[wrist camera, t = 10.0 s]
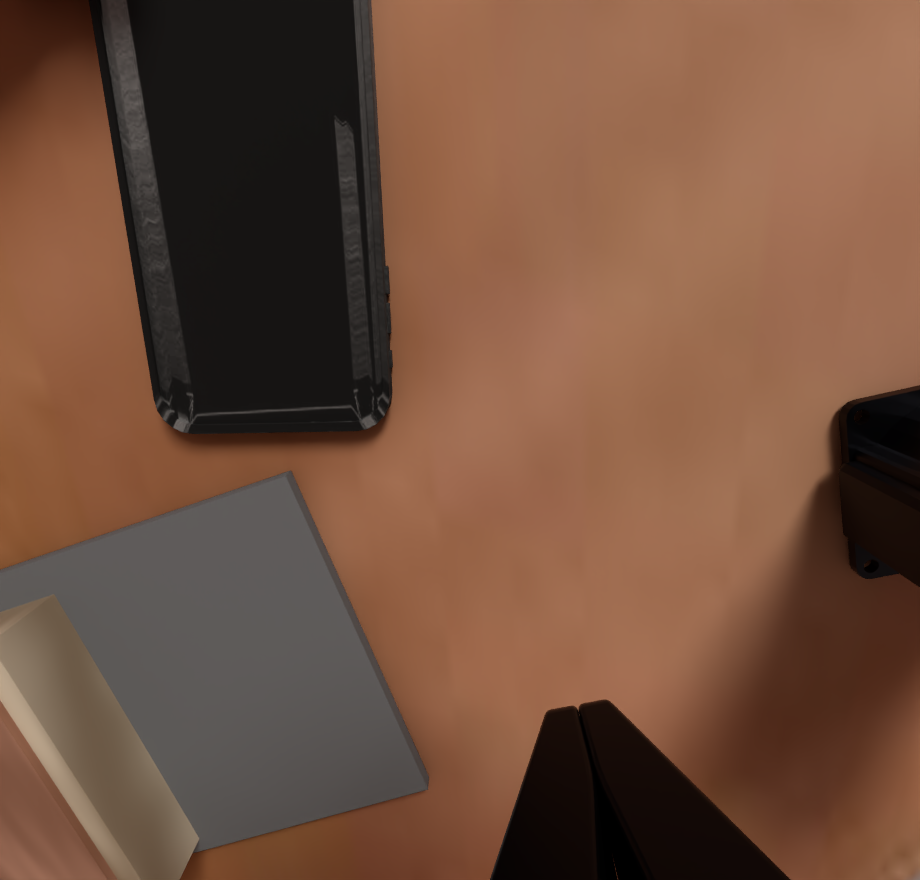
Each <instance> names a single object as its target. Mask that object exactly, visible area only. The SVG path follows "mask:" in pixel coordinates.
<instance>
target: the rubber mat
mask: <svg viewBox="0 0 920 880" xmlns="http://www.w3.org/2000/svg"><path fill="white" fill-rule="evenodd" d="M53 594H54V595H55V596H56V598H57V600H58V601H59V603H60V605H61V607H62V608H63V610H64V612H65V613H66V615H67V617H68V618H69V620H70V622H71V623H72V625H73V627H74V628H75V630H76V632H77V633H78V635H79V637H80V638H81V640H82V642H83V644H84V645H85V647H86V649H87V650H88V652H89V654H90V655H91V657H92V659H93V660H94V662H95V664H96V665H97V667H98V669H99V670H100V672H101V674H102V676H103V677H104V679H105V681H106V682H107V684H108V686H109V687H110V689H111V691H112V692H113V694H114V696H115V697H116V699H117V701H118V702H119V704H120V706H121V707H122V709H123V711H124V713H125V714H126V716H127V718H128V719H129V721H130V723H131V724H132V726H133V728H134V729H135V731H136V733H137V734H138V736H139V738H140V739H141V741H142V743H143V744H144V746H145V748H146V750H147V751H148V753H149V755H150V756H151V758H152V760H153V761H154V763H155V765H156V766H157V768H158V770H159V771H160V773H161V775H162V776H163V778H164V780H165V781H166V783H167V785H168V787H169V788H170V790H171V792H172V793H173V795H174V797H175V798H176V800H177V802H178V803H179V805H180V807H181V808H182V810H183V812H184V813H185V815H186V817H187V818H188V820H189V822H190V824H191V825H192V827H193V829H194V830H195V832H196V834H197V835H198V837H199V841H198V843H197V845H196V847H195V849H194V851H193V853H196V852H199V851H203V850H207V849H210V848H214V847H218V846H221V845H225V844H229V843H232V842H236V841H240V840H243V839H247V838H251V837H254V836H258V835H262V834H266V833H269V832H273V831H277V830H280V829H284V828H288V827H291V826H295V825H299V824H302V823H306V822H310V821H313V820H317V819H321V818H324V817H328V816H332V815H335V814H339V813H343V812H347V811H350V810H354V809H358V808H361V807H365V806H369V805H372V804H376V803H380V802H383V801H387V800H391V799H394V798H398V797H402V796H405V795H409V794H413V793H417V792H420V791H424V790H428V783H429V776H428V774H427V771H426V769H425V767H424V765H423V763H422V760H421V758H420V756H419V754H418V752H417V749H416V747H415V745H414V743H413V740H412V738H411V736H410V734H409V732H408V729H407V727H406V725H405V723H404V720H403V718H402V716H401V714H400V712H399V709H398V707H397V705H396V703H395V700H394V698H393V696H392V694H391V692H390V689H389V687H388V685H387V683H386V680H385V678H384V676H383V674H382V672H381V669H380V667H379V665H378V663H377V660H376V658H375V656H374V654H373V652H372V649H371V647H370V645H369V643H368V641H367V638H366V636H365V634H364V632H363V629H362V627H361V625H360V623H359V621H358V618H357V616H356V614H355V612H354V609H353V607H352V605H351V603H350V601H349V598H348V596H347V594H346V592H345V589H344V587H343V585H342V583H341V581H340V578H339V576H338V574H337V572H336V569H335V567H334V565H333V563H332V561H331V558H330V556H329V554H328V552H327V549H326V547H325V545H324V543H323V541H322V538H321V536H320V534H319V532H318V530H317V527H316V525H315V523H314V521H313V518H312V516H311V514H310V512H309V510H308V507H307V505H306V503H305V501H304V498H303V496H302V494H301V492H300V490H299V487H298V485H297V483H296V481H295V478H294V476H293V474H292V472H291V471H288V472H285V473H282V474H279V475H276V476H273V477H270V478H268V479H265V480H262V481H259V482H256V483H253V484H250V485H247V486H244V487H241V488H238V489H235V490H232V491H230V492H227V493H224V494H221V495H218V496H215V497H212V498H209V499H206V500H203V501H200V502H197V503H194V504H191V505H189V506H186V507H183V508H180V509H177V510H174V511H171V512H168V513H165V514H162V515H159V516H156V517H153V518H151V519H148V520H145V521H142V522H139V523H136V524H133V525H130V526H127V527H124V528H121V529H118V530H115V531H112V532H110V533H107V534H104V535H101V536H98V537H95V538H92V539H89V540H86V541H83V542H80V543H77V544H74V545H72V546H69V547H66V548H63V549H60V550H57V551H54V552H51V553H48V554H45V555H42V556H39V557H36V558H33V559H31V560H28V561H25V562H22V563H19V564H16V565H13V566H10V567H7V568H4V569H1V570H0V612H2V611H5V610H8V609H11V608H14V607H17V606H20V605H23V604H26V603H29V602H32V601H35V600H38V599H41V598H44V597H47V596H50V595H53Z"/></svg>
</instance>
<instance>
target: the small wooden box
mask: <svg viewBox="0 0 920 880" xmlns="http://www.w3.org/2000/svg"><path fill="white" fill-rule="evenodd" d="M198 841H199V837H198V835H197V834H196V832H195V830H194V829H193V827H192V825H191V824H190V822H189V820H188V818H187V817H186V815H185V813H184V812H183V810H182V808H181V807H180V805H179V803H178V802H177V800H176V798H175V797H174V795H173V793H172V792H171V790H170V788H169V787H168V785H167V783H166V781H165V780H164V778H163V776H162V775H161V773H160V771H159V770H158V768H157V766H156V765H155V763H154V761H153V760H152V758H151V756H150V755H149V753H148V751H147V750H146V748H145V746H144V744H143V743H142V741H141V739H140V738H139V736H138V734H137V733H136V731H135V729H134V728H133V726H132V724H131V723H130V721H129V719H128V718H127V716H126V714H125V713H124V711H123V709H122V707H121V706H120V704H119V702H118V701H117V699H116V697H115V696H114V694H113V692H112V691H111V689H110V687H109V686H108V684H107V682H106V681H105V679H104V677H103V676H102V674H101V672H100V670H99V669H98V667H97V665H96V664H95V662H94V660H93V659H92V657H91V655H90V654H89V652H88V650H87V649H86V647H85V645H84V644H83V642H82V640H81V638H80V637H79V635H78V633H77V632H76V630H75V628H74V627H73V625H72V623H71V622H70V620H69V618H68V617H67V615H66V613H65V612H64V610H63V608H62V607H61V605H60V603H59V601H58V600H57V598H56V596H55V595H54V594H53V595H50V596H47V597H44V598H41V599H38V600H35V601H32V602H29V603H26V604H23V605H20V606H17V607H14V608H11V609H8V610H5V611H2V612H0V880H180V878H181V876H182V874H183V872H184V870H185V867H186V865H187V863H188V861H189V859H190V857H191V855H192V853H193V851H194V849H195V847H196V845H197V843H198Z"/></svg>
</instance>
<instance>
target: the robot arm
mask: <svg viewBox="0 0 920 880" xmlns="http://www.w3.org/2000/svg"><path fill="white" fill-rule="evenodd" d="M859 410H862V416H861V418H860V419H859V420H857V421H854V416H855V414H856V413H857V411H859ZM839 426H840V439H841V453H842V466H841V468H840V470H839V483H840V496H841V510H842V523H843V533H844V535H845V536H846V537H848V549H849V562H850V567H851V569H852V570H853V571H854V572H856V573H857V574H858V575H859V576H861V577H863V578H865V579H873V578H878V577H883V576H889V575H894V574H899V573H900V574H901V575H903V576H904V577H906V578H907V579H908V580H910V581H911V582H913V583H914V584H916V585H917V586H919V587H920V385H919V386H915V387H910V388H906V389H901V390H896V391H892V392H887V393H883V394H878V395H874V396H869V397H865V398H860V399H856V400H852V401H850V402H847V403H846V404H845V405H844V406H843V407H842V409H841V411H840V413H839ZM869 560H871V563H870V564H869V565H868V566H866V567H864V564H865V563H866V562H867V561H869ZM579 715H580V716H579ZM613 860H614V861H613ZM614 864H615V865H614ZM615 868H616V870H615ZM616 873H617V874H616ZM617 877H618V879H617ZM490 880H790V879H789V878H788V877H787V876H786V875H785V874H784V873H783V872H782V871H781V870H780V869H779V868H778V867H777V866H776V865H775V864H774V863H773V862H772V861H771V860H770V859H769V858H768V857H767V856H766V855H765V854H764V853H763V852H762V851H761V850H760V849H759V848H758V847H757V846H756V845H755V844H754V843H753V842H752V841H751V840H750V839H749V838H748V837H747V836H746V835H745V834H744V833H743V832H742V831H741V830H740V829H739V828H738V827H737V826H736V825H735V824H734V823H733V822H732V821H731V820H730V819H729V818H728V817H727V816H726V815H725V814H724V813H723V812H722V811H721V810H720V809H719V808H718V807H717V806H716V805H715V804H714V803H713V802H712V801H711V800H710V799H709V798H708V797H707V796H706V795H705V794H704V793H703V792H701V791H700V790H699V789H698V788H697V787H696V786H695V785H694V784H693V783H692V782H691V781H690V780H689V779H688V778H687V777H686V776H685V775H684V774H683V773H682V772H681V771H680V770H679V769H678V768H677V767H676V766H675V765H674V764H673V763H672V762H671V761H670V760H669V759H668V758H667V757H666V756H665V755H664V754H663V753H662V752H661V751H660V750H659V749H658V748H657V747H656V746H655V745H654V744H653V743H652V742H651V741H650V740H649V739H648V738H647V737H646V736H645V735H644V734H643V733H642V732H641V731H640V730H639V729H638V728H637V727H636V726H635V725H634V724H633V723H632V722H631V721H630V720H629V719H628V718H627V717H626V716H625V715H624V714H623V713H622V712H621V711H620V710H619V709H618V708H617V707H616V706H615V705H614V704H612V703H611V702H610V701H609V700H599V701H594V702H588V703H583V704H581V705H580V706H579V712H578V709H577V708H576V707H575V706H567V707H562V708H556V709H551V710H549V711H547V712H546V714H545V716H544V719H543V722H542V725H541V728H540V731H539V734H538V737H537V740H536V743H535V746H534V749H533V752H532V755H531V758H530V761H529V764H528V767H527V770H526V773H525V776H524V779H523V782H522V785H521V788H520V791H519V794H518V797H517V800H516V803H515V806H514V809H513V812H512V815H511V818H510V821H509V824H508V827H507V830H506V833H505V836H504V839H503V842H502V845H501V848H500V851H499V854H498V857H497V860H496V863H495V866H494V869H493V872H492V875H491V878H490Z"/></svg>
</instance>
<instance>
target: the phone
mask: <svg viewBox="0 0 920 880" xmlns="http://www.w3.org/2000/svg"><path fill="white" fill-rule="evenodd" d="M89 4H90V10H91V16H92V22H93V29H94V35H95V41H96V47H97V53H98V59H99V65H100V71H101V78H102V84H103V90H104V96H105V102H106V108H107V114H108V120H109V127H110V133H111V139H112V145H113V151H114V157H115V163H116V170H117V176H118V182H119V188H120V194H121V200H122V206H123V212H124V219H125V225H126V231H127V237H128V243H129V249H130V255H131V261H132V268H133V274H134V280H135V286H136V292H137V298H138V304H139V311H140V317H141V323H142V329H143V335H144V341H145V347H146V353H147V360H148V366H149V372H150V378H151V384H152V390H153V396H154V401H155V404H156V408H157V411H158V412H159V414H160V415H161V417H162V418H163V420H164V421H165V422H167V423H168V424H169V425H170V426H171V427H173V428H174V429H177V430H179V431H181V432H184V433H191V434H216V433H272V432H329V431H359V430H365V429H368V428H370V427H372V426H374V425H376V424H377V423H378V422H379V421H380V420H381V419H382V418H383V417H384V415H385V414H386V412H387V410H388V408H389V406H390V403H391V399H392V377H391V368H393V363H392V350H390V340H389V334H391V315H390V303H387V294H390V286H389V267H388V266H385V247H384V229H383V210H382V192H381V173H380V155H379V136H378V118H377V99H376V81H375V62H374V44H373V25H372V7H371V0H89Z"/></svg>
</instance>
